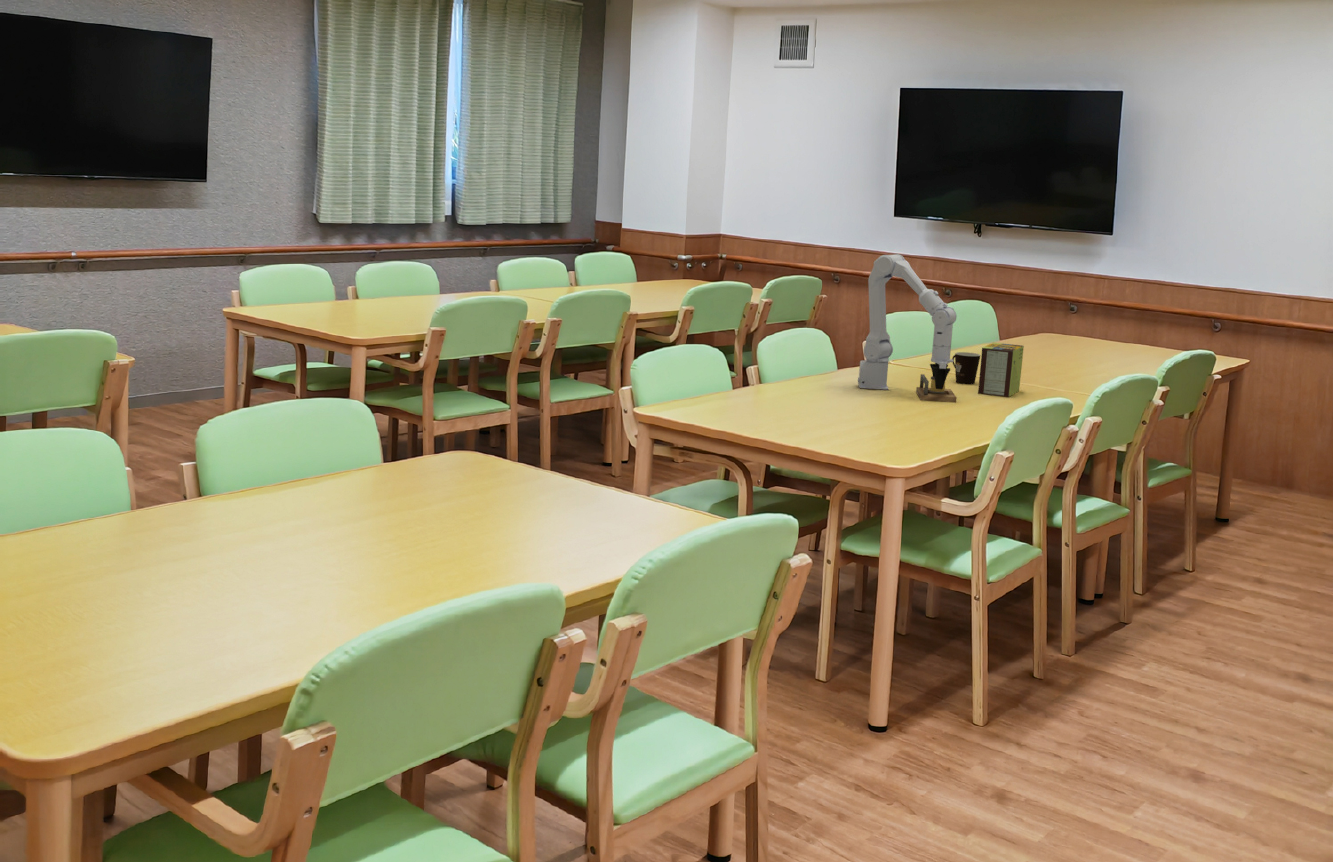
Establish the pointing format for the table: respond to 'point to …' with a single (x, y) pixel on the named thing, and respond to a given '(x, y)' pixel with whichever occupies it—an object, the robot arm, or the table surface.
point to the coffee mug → (966, 367)
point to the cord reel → (933, 388)
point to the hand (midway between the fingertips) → (938, 387)
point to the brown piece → (927, 396)
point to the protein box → (1000, 369)
